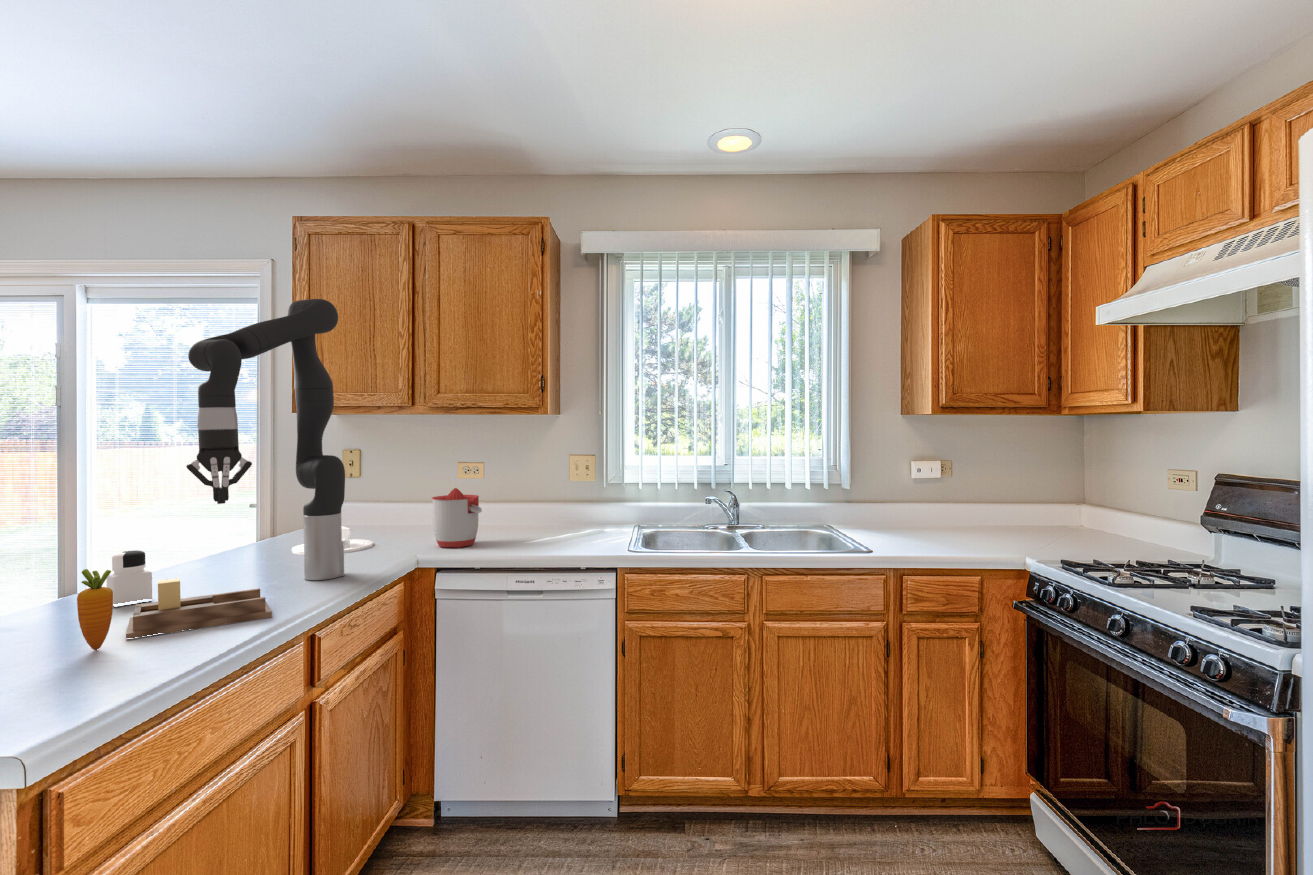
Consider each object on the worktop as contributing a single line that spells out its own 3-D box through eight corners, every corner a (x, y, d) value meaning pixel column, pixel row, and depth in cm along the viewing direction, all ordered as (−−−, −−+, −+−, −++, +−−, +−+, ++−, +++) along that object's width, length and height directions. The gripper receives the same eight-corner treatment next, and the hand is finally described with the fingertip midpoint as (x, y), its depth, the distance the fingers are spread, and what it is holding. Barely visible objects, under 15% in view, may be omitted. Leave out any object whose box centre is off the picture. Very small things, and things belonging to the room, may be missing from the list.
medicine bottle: (144, 597, 156) (143, 547, 156) (152, 601, 151) (151, 550, 151) (106, 603, 150) (105, 552, 150) (113, 608, 146) (112, 555, 146)
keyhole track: (264, 603, 148) (264, 586, 148) (271, 617, 137) (271, 598, 137) (130, 623, 134) (129, 604, 134) (126, 640, 123) (125, 619, 123)
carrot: (121, 645, 120) (119, 565, 119) (98, 654, 115) (97, 570, 114) (93, 646, 119) (92, 565, 119) (70, 655, 114) (68, 571, 114)
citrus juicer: (466, 550, 212) (465, 490, 212) (422, 548, 218) (421, 489, 217) (492, 542, 227) (492, 486, 227) (451, 540, 232) (450, 485, 232)
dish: (275, 552, 215) (275, 518, 215) (343, 540, 237) (343, 510, 237) (321, 558, 203) (320, 523, 203) (388, 546, 225) (387, 513, 225)
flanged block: (190, 612, 137) (189, 575, 137) (191, 620, 131) (190, 581, 131) (148, 618, 133) (147, 580, 133) (147, 626, 127) (146, 586, 127)
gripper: (182, 428, 140) (186, 507, 140) (254, 427, 148) (257, 502, 148) (181, 428, 146) (185, 504, 146) (250, 427, 154) (253, 499, 154)
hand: (221, 503), depth 147 cm, fingers closed
